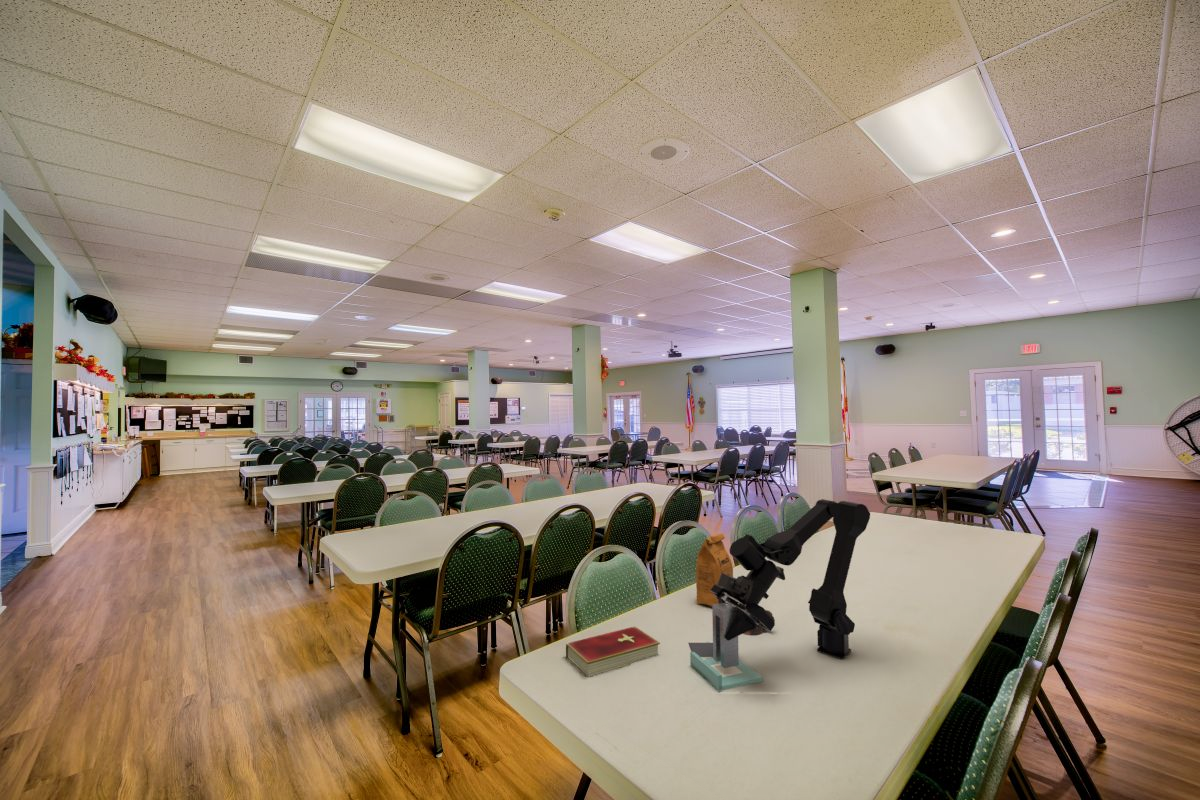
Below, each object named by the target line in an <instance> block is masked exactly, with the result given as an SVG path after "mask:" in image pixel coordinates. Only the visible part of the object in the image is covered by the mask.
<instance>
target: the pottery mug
mask: <svg viewBox="0 0 1200 800" xmlns="http://www.w3.org/2000/svg"><path fill="white" fill-rule="evenodd" d="M735 608H738V607H736V606H735ZM740 610H741V609H740ZM765 610H766V611H767V612H768V613H769V614H770V615H771V616H772V617H773V618H774V619H775V617H774V615H773V613H772V612H771V610H767V609H765ZM742 611H743V610H742ZM758 626H759V627H760V628H759V629H757V628H755V629H752V630H750V631H748V632H745V633H743V634H742V635H746V636H753V635H754V636H760V635H762V634H763V631H766V629H765V628H763V627H762V626H761V622H760V623H759V624H758Z"/></svg>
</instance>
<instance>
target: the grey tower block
mask: <svg viewBox="0 0 1200 800" xmlns="http://www.w3.org/2000/svg"><path fill="white" fill-rule="evenodd" d="M711 608H712V611H711V612H712V613H711V614H712V643H713V657H712V658H713V660H715V661H716V662H719V661H721V666H722V667H723V668H728V667H733V666H738V665H739V660H740V659H739V657H740V656H739V654H740V653H739V636H737V637H735V638H733V639H731V640H729V641H728V640H727V639H726V638H725V636H726V634H727V632H728V630H729V629H730V627H731V625H732V624H733V622H734V621H735V619H736V617H737V608H735V607H733V606H732V605H730V604H728V603H727V602H726V603H719V604H713V605H712V606H711Z"/></svg>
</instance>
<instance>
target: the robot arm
mask: <svg viewBox="0 0 1200 800" xmlns="http://www.w3.org/2000/svg"><path fill="white" fill-rule="evenodd" d="M870 519H871V512H870V511H869V509H868V507H867V506H866V505H865V504H862V503H856V502H852V501H846V500H840V501H839V502H836V501H833V500H831V499H830V500H829V499H825V498H822V499H818V500H817V501H816V502H815V505H813V507H812V508H810V509H809V510H808V511H807V512H806V513H805V514H804V515H802V516H801V517H800V518H799V519H798V520H797V521H796V522H794V523H793V524H792V525H791V526H790V527H789V528H787V529H785V530H783V531H780V532H777V533H775V534H773V535H772V536H770V537H769V538H767V539H765V541H763V542H759V543H758V542H757V541H756V539H755V538H754V536H753V535H751V534H747V533H746V534H745V535H744V536H743V537H740V538H738V539H736V540H735V541H733V542H732V543H731V545H730V547H729V554H730V555H731V557H733V558H734V559H735V560H736V561H737V563H739V564H740V566H741V567H743V569H744V570H746V571H749V572H748V573H747V574H746V576H745V575H740V576H737V578H736V577H734V576H733V577H732V576H729V575H727V574H724V573H721V576H720V579H719V581H718V584H714V586H713V587H712V589H711V590H710V591H711V592H712V593H713V594H714V595H715V596H716V597H717V600H718V602H719V603H726V602H727V603H728V604H730V605H732V606H733V607H735V606H736V607H738V608H737V617H736V619H735V621H734V622H733V624H732V625H731V627H730V629H729V630H728V632H727V634H726V636H725V638H726V639H727V640H728V641H729V640H731V639H733V638H735V637H737V636H738V637H739V636H741V635H744V634H743V633H745V632H748V631H750V630H752V629H755V628H757V629H759V628H760V627H759V626H758V624H759V623H760V622H761V626H762V627H763V628H765V631H767V632H770V633H771V631H772V630H773V629H774V628H775V625H776V623H775V622H776V619H775V617H774V616H773V615H772V616H773V617H774V618H773V617H772V616H771V615H770V614H769V613H768V612H767V611H766V610H767V609H765V608H764V607H762V606H761V605H759V604H760V602H761V601H762V600H763V599H765V600H767V599H768V598H769V596H770V595H769V594H768V593H767V592H768V591H769V589H770V588H771V586H772V585H773V583H774V582H775V581H776V579H779V580H782V581H786V576H785V575H786V574H785V570H784V568H783V567H781V566H779V565H778V566H777V565H776V563H777V564H780V565H782V566H786V567H789V566H791V565H793V564H794V563H795V561H796V560H797V559H798V558H799V556H800V555H801V553H802V550H803V545H804V544H805V543H806V542H807V541H809V540H810V539H811V538H812V537H813V536H814V535H815V534H816V533H817V532H819V530H820V529H822V527H824V526H825V525H826V524H827V523H828V522H830V520H832V523H833V525H834V528H835V529H834V530H835V534H834V538H833V542H832V546H831V547H832V548H831V552H830V556H829V557H828V562H827V566H826V571H825V575H824V577H823V582H822V585H821V586H820V587H819V588H817V589H816V588H812V589H811V591H810V592H811V593H810V597H809V600H808V602H807V603H808V604H809V606H808V610H809V612H810V615H811V616H812V618H813V622H814V623H816V624H818V630H817V633H816V634H817V647H818V648H816V649H817V650H816V651H817V652H819V653H820V654H824V655H828V656H830V657H834V658H837V659H841V660H844V659H845V658H846V657H847V656H848V655H849V654H850V653H851V652H852V648H849V646H850V645H849V644H850V643H849V635H850V634H851V633H854V630H855V626H856V624H855V622H854V621H853V620H852V619H851V618H850V617H849V616H848V615H847V609H848V607H847V606H848V605H847V601H846V598H845V594H844V590H845V586H846V582H847V577H848V574H849V570H850V566H851V561H852V558H853V554H854V550H855V545H856V542H857V538H858V537H859V536H861V534H862V533H864V532H865V531H866V529H867V526H868V525H869V522H870ZM767 559H768V560H767ZM774 562H775V563H774ZM740 609H741V610H740ZM742 610H743V611H742Z"/></svg>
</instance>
